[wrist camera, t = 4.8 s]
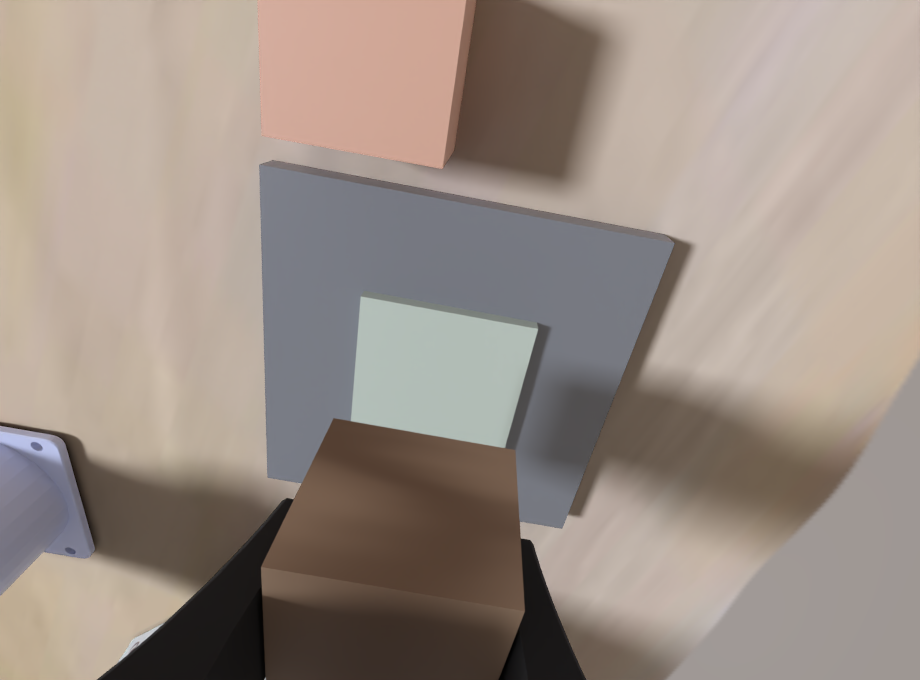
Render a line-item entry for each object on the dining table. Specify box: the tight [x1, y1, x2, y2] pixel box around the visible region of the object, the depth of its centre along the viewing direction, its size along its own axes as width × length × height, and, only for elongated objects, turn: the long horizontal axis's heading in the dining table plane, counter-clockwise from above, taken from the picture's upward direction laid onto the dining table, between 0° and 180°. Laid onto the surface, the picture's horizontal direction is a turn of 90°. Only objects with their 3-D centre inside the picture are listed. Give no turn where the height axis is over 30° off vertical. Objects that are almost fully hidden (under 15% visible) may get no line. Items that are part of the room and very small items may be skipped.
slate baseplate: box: [259, 160, 675, 529], centre depth 18 cm, size 13×13×2 cm
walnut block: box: [261, 418, 525, 680], centre depth 11 cm, size 4×4×4 cm
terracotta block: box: [258, 0, 477, 169], centre depth 12 cm, size 4×4×4 cm
